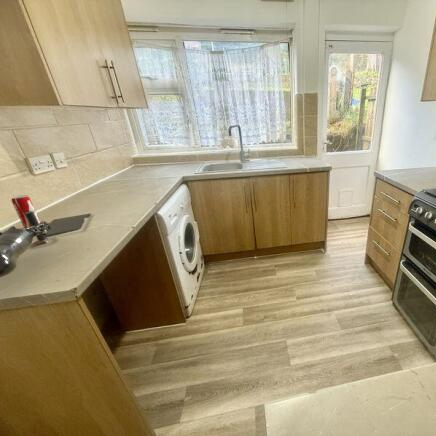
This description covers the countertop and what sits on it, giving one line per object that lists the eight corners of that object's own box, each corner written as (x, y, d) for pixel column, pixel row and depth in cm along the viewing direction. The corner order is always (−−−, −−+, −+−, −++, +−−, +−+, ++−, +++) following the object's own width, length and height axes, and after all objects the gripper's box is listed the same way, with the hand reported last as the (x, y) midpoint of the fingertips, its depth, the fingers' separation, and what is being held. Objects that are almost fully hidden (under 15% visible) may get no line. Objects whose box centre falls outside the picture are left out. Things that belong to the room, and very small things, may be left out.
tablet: (39, 239, 103) (38, 237, 102) (54, 221, 120) (53, 219, 120) (83, 230, 109) (83, 228, 109) (91, 214, 127) (90, 213, 127)
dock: (29, 248, 96) (28, 247, 95) (35, 241, 101) (34, 240, 101) (52, 244, 99) (51, 243, 98) (57, 237, 104) (56, 236, 104)
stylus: (38, 243, 98) (23, 214, 93) (40, 241, 100) (25, 212, 95) (46, 242, 99) (31, 212, 94) (48, 239, 101) (34, 210, 96)
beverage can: (22, 228, 114) (4, 198, 107) (39, 222, 119) (23, 193, 113) (29, 230, 111) (11, 199, 105) (46, 224, 117) (30, 194, 110)
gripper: (36, 228, 82) (50, 213, 94) (-26, 239, 75) (-2, 221, 88) (45, 247, 85) (58, 230, 97) (-13, 260, 78) (8, 239, 91)
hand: (29, 226), depth 93 cm, fingers open, 8 cm apart
